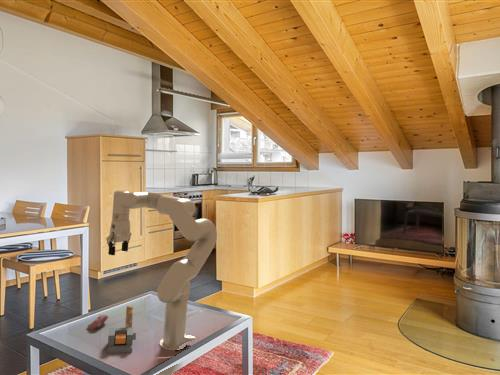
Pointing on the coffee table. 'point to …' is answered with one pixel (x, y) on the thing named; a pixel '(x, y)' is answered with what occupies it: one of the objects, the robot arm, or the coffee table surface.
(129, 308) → the stylus
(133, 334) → the mat
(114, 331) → the switch box
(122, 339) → the button
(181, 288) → the robot arm
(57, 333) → the coffee table surface
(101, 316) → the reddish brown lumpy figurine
